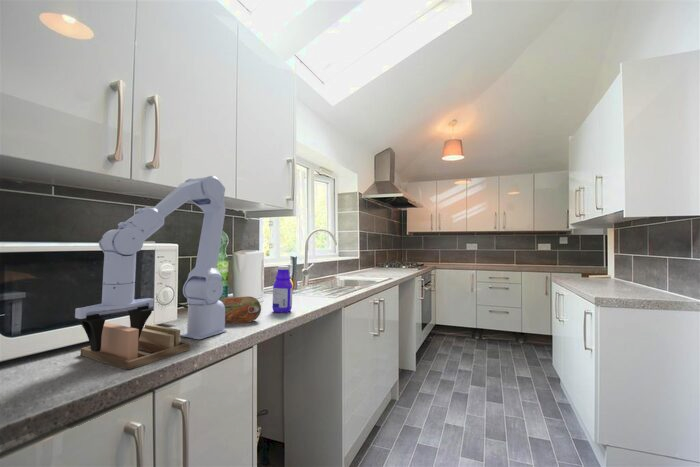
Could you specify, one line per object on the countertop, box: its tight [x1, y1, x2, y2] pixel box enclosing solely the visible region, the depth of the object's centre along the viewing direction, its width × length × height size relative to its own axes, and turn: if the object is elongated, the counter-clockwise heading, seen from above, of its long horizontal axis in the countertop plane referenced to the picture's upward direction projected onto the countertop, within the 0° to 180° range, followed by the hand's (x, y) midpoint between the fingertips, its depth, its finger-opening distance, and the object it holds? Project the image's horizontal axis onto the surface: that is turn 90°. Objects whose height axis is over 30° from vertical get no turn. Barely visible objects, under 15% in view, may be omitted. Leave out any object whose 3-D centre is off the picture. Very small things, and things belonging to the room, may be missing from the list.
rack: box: [79, 340, 191, 371], centre depth 71 cm, size 14×18×2 cm
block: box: [100, 322, 139, 360], centre depth 67 cm, size 2×12×7 cm, turn 65°
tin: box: [218, 296, 262, 325], centre depth 100 cm, size 15×3×8 cm, turn 106°
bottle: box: [272, 265, 293, 314], centre depth 117 cm, size 7×6×17 cm
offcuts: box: [139, 323, 181, 348], centre depth 75 cm, size 3×14×4 cm, turn 65°
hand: (116, 345), depth 67 cm, fingers open, 7 cm apart
